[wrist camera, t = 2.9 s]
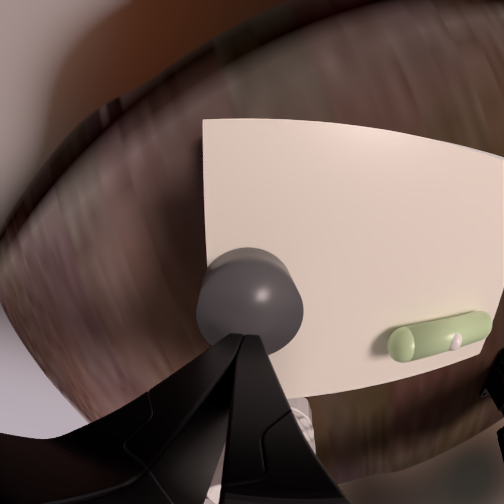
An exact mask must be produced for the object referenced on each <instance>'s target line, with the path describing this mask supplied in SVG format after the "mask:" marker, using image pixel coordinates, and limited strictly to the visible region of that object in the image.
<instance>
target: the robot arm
mask: <svg viewBox="0 0 504 504" xmlns="http://www.w3.org/2000/svg"><path fill="white" fill-rule="evenodd" d="M486 396H491V398H492V399H493V401H494V403H495V405H496V406H497V408H498V410H499V411H501V412H502V414H503V416H504V349H503V351H502V352H501V354H500V356H499V358H498V360H497V362H496V364H495V366H494V368H493V370H492V372H491V374H490V376H489V378H488V379H487V381H486V383H485V385H484V387H483V388H482V390H481V392H480V397H481V398H483V397H486ZM497 435H498V442H499V446H500V449H501V453H502V458H503V461H504V427H502V428H500V429H499V430H498V431H497ZM225 442H226V443H225ZM224 445H225V452H224V461H223V470H222V479H221V489H220V496H219V503H218V504H353V503H352V502H351V501H350V500H349V499H348V498H347V497H346V496H345V494H344V493H343V492H342V490H341V489H340V488H339V486H338V485H337V484H336V482H335V481H334V480H333V478H332V477H331V475H330V474H329V473H328V471H327V470H326V468H325V467H324V466H323V464H322V463H321V461H320V460H319V458H318V457H317V456H316V454H315V453H314V451H313V449H312V448H311V446H310V445H309V443H308V441H307V440H306V438H305V436H304V434H303V432H302V430H301V428H300V426H299V424H298V422H297V420H296V418H295V416H294V413H293V412H292V409H291V407H290V405H289V402H288V400H287V398H286V396H285V393H284V391H283V389H282V386H281V384H280V382H279V380H278V377H277V375H276V373H275V370H274V368H273V366H272V363H271V361H270V359H269V356H268V354H267V352H266V349H265V347H264V344H263V342H262V340H261V337H260V336H259V335H253V334H246V335H245V336H244V334H240V333H229V334H228V335H226V336H225V337H224V338H222V339H221V340H220V341H218V342H217V343H215V344H214V345H213V346H211V347H210V348H209V349H207V350H206V351H205V352H203V353H202V354H200V355H199V356H198V357H196V358H195V359H193V360H192V361H191V362H189V363H188V364H186V365H185V366H183V367H182V368H181V369H179V370H178V371H176V372H175V373H173V374H172V375H171V376H169V377H168V378H166V379H165V380H163V381H162V382H160V383H159V384H157V385H156V386H154V387H153V388H151V389H150V390H149V392H145V393H144V394H142V395H141V396H139V397H138V398H136V399H135V400H133V401H131V402H130V403H128V404H126V405H125V406H123V407H121V408H120V409H118V410H116V411H114V412H112V413H110V414H108V415H106V416H104V417H102V418H100V419H98V420H96V421H94V422H92V423H90V424H88V425H85V426H83V427H81V428H79V429H77V430H74V431H72V432H70V433H68V434H65V435H62V436H60V437H56V438H50V439H34V438H27V437H20V436H14V435H9V434H4V433H0V504H203V503H204V501H205V498H206V496H207V493H208V490H209V487H210V485H211V482H212V479H213V476H214V474H215V471H216V468H217V465H218V462H219V459H220V457H221V454H222V451H223V448H224Z"/></svg>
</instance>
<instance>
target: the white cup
mask: <svg viewBox="0 0 504 504" xmlns="http://www.w3.org/2000/svg"><path fill="white" fill-rule="evenodd" d="M287 400H288V402H289V405H290V407H291V409H292V412H293V413H294V416H295V418H296V420H297V422H298V424H299V426H300V428H301V430H302V432H303V434H304V436H305V438H306V440H307V441H308V443H309V445H310V446H311V448H312V449H313V451H314V453H315V454H316V450H315V441H314V430H313V426H312V414H311V408H310V405H309V402H308V400H307V399H306V398H305V397H300V398H291V399H287ZM225 443H226V442H225ZM224 452H225V445H224V448H223V451H222V454H221V457H220V459H219V462H218V465H217V468H216V471H215V474H214V476H213V479H212V482H211V485H210V487H209V490H208V493H207V497H208V498H209V499H210V500H211V501H212V502H214V503H215V504H218V503H219V496H220V489H221V479H222V470H223V461H224Z"/></svg>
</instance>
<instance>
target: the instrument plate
mask: <svg viewBox="0 0 504 504" xmlns="http://www.w3.org/2000/svg"><path fill="white" fill-rule="evenodd" d="M203 177H204V210H205V233H206V252H207V270H206V272H205V274H204V277H203V280H202V284H201V289H200V294H199V299H198V304H197V310H196V319H197V325H198V327H199V330H200V332H201V334H202V336H203V337H204V339H205V340H206V341H207V342H208V343H209V344H210V345H211V346H213V345H214V344H215V343H217V342H218V341H220V340H221V339H222V338H224V337H225V336H226V335H228V334H229V333H240V334H244V336H245V335H246V334H253V335H259V336H260V337H261V340H262V342H263V344H264V347H265V349H266V352H267V354H268V356H269V359H270V361H271V363H272V366H273V368H274V370H275V373H276V375H277V377H278V380H279V382H280V384H281V386H282V389H283V391H284V393H285V396H286V398H287V399H291V398H300V397H308V396H316V395H323V394H330V393H336V392H342V391H348V390H354V389H359V388H364V387H369V386H373V385H378V384H383V383H387V382H391V381H395V380H399V379H403V378H407V377H411V376H414V375H418V374H421V373H425V372H428V371H431V370H435V369H438V368H441V367H444V366H447V365H450V364H453V363H456V362H459V361H461V360H464V359H467V358H469V357H472V356H475V355H477V354H479V353H480V351H481V349H482V347H483V344H484V342H485V339H486V337H487V336H488V335H489V333H490V331H491V329H492V321H493V319H494V316H495V313H496V310H497V307H498V304H499V301H500V298H501V295H502V291H503V288H504V160H501V159H498V158H495V157H492V156H489V155H486V154H483V153H480V152H477V151H473V150H470V149H467V148H463V147H460V146H456V145H452V144H448V143H445V142H441V141H436V140H432V139H428V138H423V137H419V136H414V135H409V134H404V133H399V132H394V131H388V130H382V129H376V128H369V127H362V126H355V125H346V124H338V123H328V122H316V121H303V120H285V119H207V120H203Z"/></svg>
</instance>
